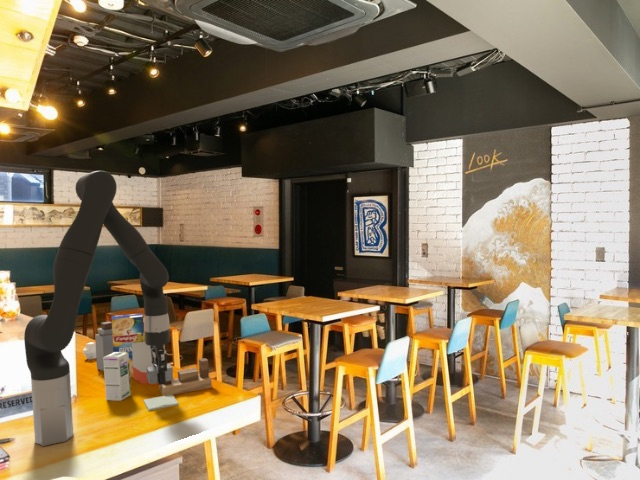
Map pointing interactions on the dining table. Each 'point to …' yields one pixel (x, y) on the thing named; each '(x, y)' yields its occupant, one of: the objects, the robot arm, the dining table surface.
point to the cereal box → (126, 333)
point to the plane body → (188, 380)
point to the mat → (160, 402)
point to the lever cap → (153, 375)
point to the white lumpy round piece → (90, 350)
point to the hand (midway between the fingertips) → (160, 381)
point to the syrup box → (117, 376)
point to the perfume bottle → (103, 343)
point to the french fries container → (141, 358)
